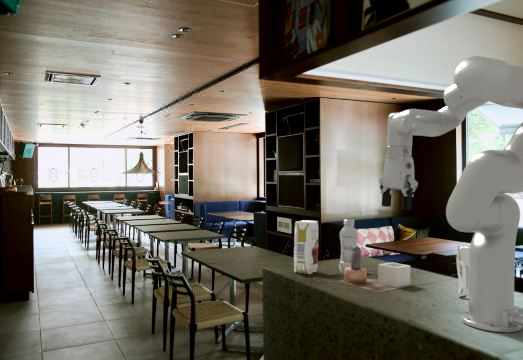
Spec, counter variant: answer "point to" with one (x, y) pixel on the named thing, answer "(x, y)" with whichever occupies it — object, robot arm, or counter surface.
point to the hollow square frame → (394, 274)
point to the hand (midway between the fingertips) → (395, 208)
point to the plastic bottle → (347, 243)
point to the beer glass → (463, 270)
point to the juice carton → (306, 246)
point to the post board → (375, 284)
